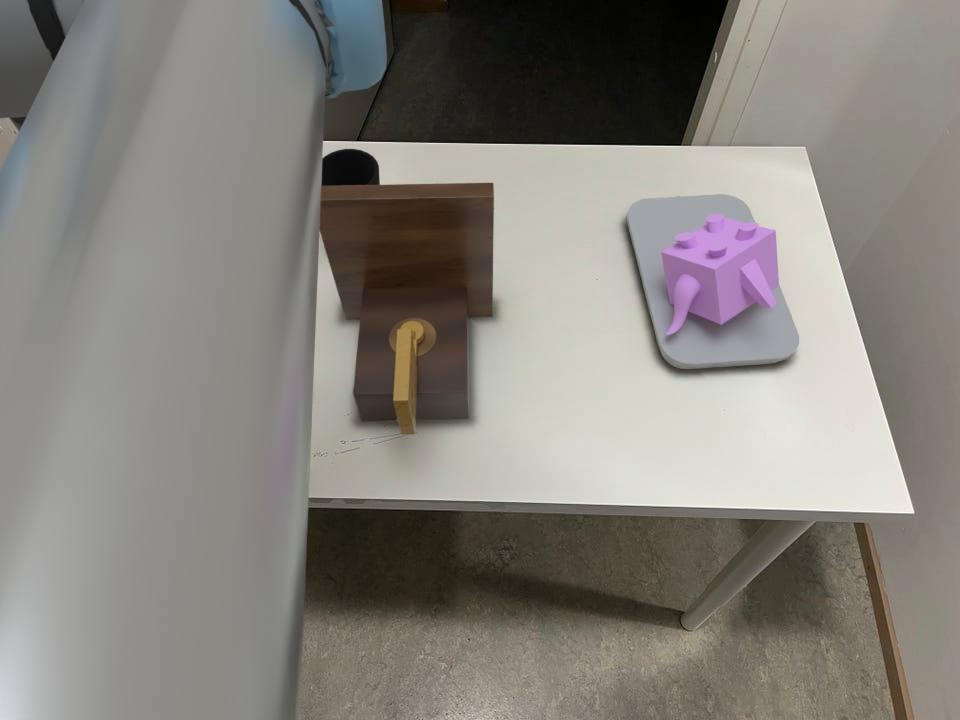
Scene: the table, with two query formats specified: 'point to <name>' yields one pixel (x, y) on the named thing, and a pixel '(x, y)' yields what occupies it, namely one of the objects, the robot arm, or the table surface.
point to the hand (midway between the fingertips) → (202, 302)
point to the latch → (406, 375)
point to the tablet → (698, 339)
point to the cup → (349, 168)
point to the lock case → (411, 284)
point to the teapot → (720, 270)
